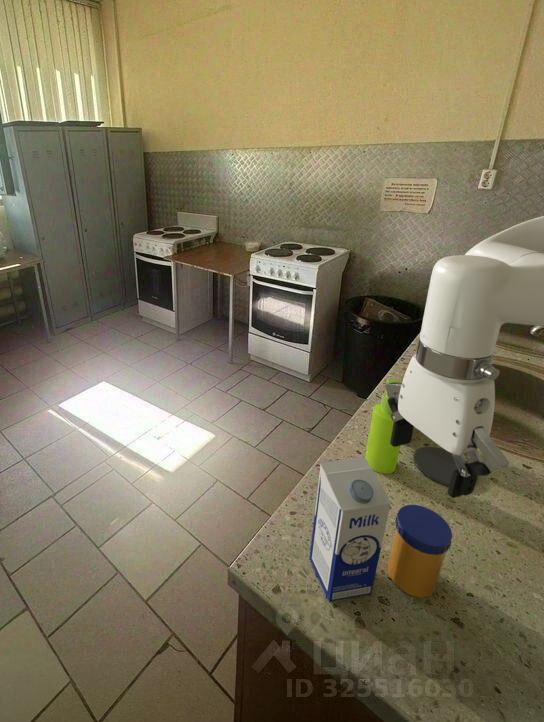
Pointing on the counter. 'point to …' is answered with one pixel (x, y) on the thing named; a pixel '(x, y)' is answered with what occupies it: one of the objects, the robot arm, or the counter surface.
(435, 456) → the coaster
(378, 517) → the milk carton
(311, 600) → the counter surface
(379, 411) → the soap dispenser
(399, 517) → the lid
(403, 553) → the jar
